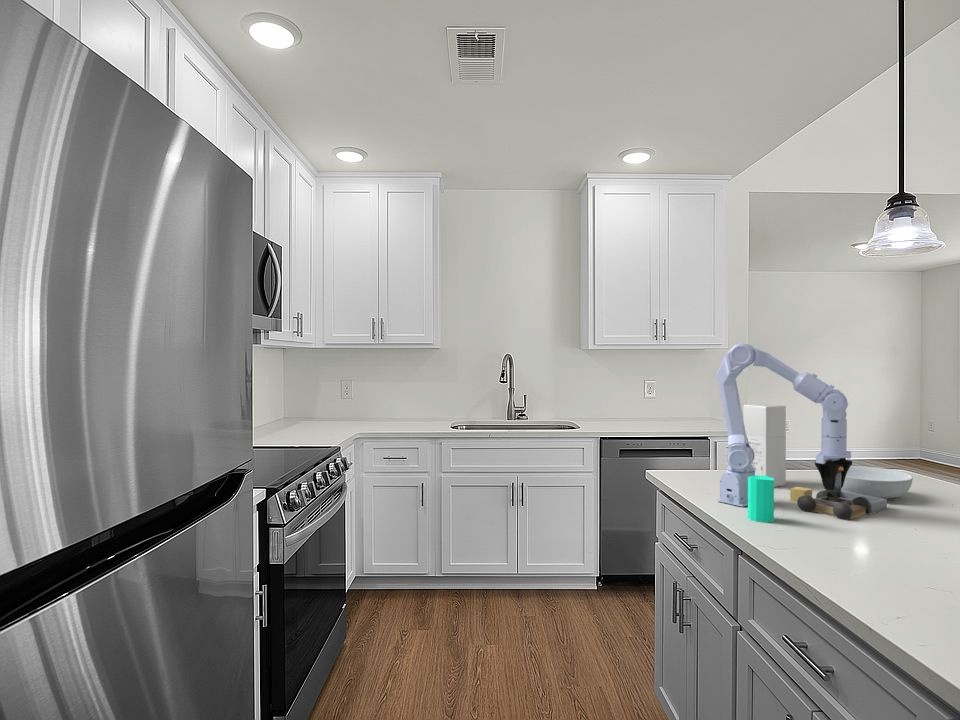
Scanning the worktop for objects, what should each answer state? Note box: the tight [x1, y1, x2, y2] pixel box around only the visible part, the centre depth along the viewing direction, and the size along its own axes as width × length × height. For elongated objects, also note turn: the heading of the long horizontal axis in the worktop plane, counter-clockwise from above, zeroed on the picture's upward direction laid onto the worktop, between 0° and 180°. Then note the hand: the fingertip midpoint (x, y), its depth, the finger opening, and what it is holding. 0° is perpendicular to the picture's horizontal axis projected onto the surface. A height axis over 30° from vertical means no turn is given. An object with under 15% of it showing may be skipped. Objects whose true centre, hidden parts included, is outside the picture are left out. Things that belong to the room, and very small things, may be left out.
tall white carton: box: [742, 403, 787, 488], centre depth 191 cm, size 9×9×25 cm
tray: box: [841, 491, 888, 515], centre depth 164 cm, size 9×12×2 cm
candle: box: [747, 475, 775, 523], centre depth 151 cm, size 6×6×12 cm
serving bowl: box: [841, 465, 914, 499], centre depth 176 cm, size 21×21×7 cm
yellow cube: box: [789, 486, 813, 503], centre depth 170 cm, size 4×4×4 cm
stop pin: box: [825, 466, 843, 498], centre depth 158 cm, size 4×4×8 cm
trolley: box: [796, 489, 871, 520], centre depth 158 cm, size 13×11×4 cm
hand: (833, 488), depth 158 cm, fingers closed on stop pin, 4 cm apart
